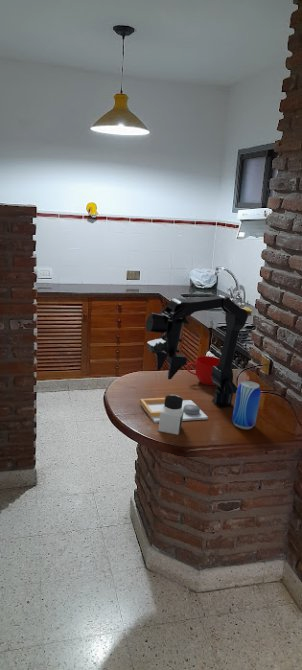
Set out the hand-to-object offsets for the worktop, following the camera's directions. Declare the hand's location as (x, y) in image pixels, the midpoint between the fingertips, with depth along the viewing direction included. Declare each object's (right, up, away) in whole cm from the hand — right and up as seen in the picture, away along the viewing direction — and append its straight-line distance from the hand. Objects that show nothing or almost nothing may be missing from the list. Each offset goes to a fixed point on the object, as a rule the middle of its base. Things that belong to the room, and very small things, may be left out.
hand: (163, 374), depth 180 cm
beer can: (+29, -18, -1) cm, 34 cm away
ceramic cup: (+18, -6, +36) cm, 41 cm away
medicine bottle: (+2, -18, -10) cm, 21 cm away
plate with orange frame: (+4, -14, +3) cm, 15 cm away
